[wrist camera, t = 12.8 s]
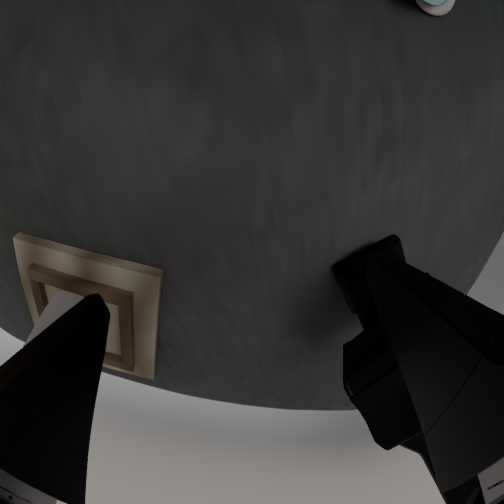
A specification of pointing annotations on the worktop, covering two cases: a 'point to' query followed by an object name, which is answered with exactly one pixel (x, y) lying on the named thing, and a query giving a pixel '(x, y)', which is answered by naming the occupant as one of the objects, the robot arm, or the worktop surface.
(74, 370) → the robot arm
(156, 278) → the base plate
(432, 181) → the worktop surface
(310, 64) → the worktop surface
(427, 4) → the pacifier
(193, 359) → the worktop surface
